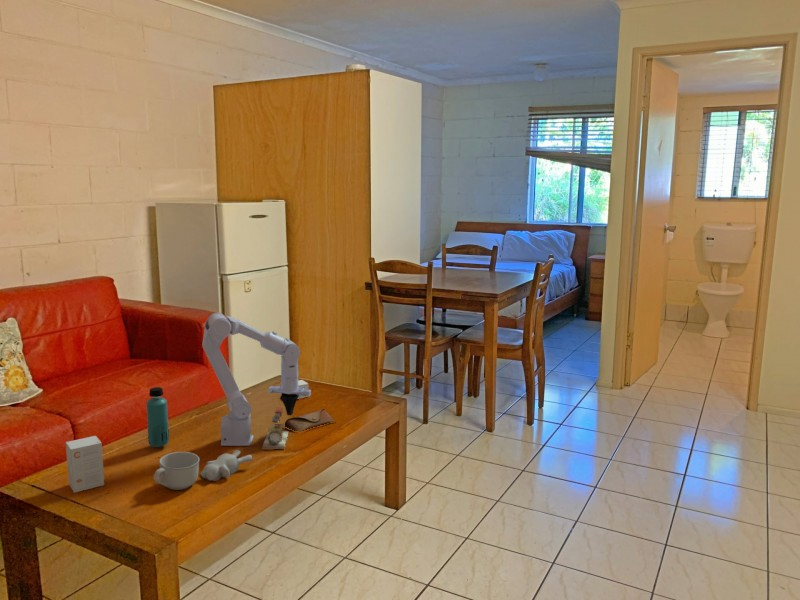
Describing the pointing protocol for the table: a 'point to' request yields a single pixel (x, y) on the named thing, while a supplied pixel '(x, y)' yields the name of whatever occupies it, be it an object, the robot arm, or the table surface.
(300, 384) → the white cube
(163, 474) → the teacup
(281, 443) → the mounting board
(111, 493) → the table surface
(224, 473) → the bunny figurine
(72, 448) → the small box
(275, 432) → the valve pipe
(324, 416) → the sunglasses case
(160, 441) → the beverage bottle
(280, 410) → the valve lever
